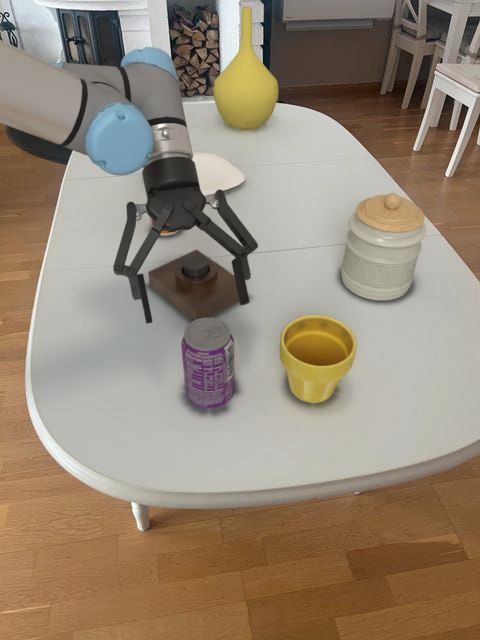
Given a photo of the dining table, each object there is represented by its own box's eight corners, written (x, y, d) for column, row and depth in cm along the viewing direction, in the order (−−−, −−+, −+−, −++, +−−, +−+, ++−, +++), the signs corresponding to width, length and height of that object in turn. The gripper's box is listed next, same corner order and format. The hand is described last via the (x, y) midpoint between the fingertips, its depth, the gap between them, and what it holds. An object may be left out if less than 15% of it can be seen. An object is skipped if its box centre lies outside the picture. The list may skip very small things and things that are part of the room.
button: (178, 270, 91) (177, 260, 89) (198, 261, 93) (197, 251, 92) (193, 282, 88) (192, 272, 87) (213, 272, 91) (213, 262, 89)
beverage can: (223, 369, 80) (222, 309, 72) (242, 402, 75) (242, 343, 67) (179, 382, 78) (173, 322, 70) (195, 417, 73) (190, 358, 65)
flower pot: (342, 421, 72) (352, 374, 66) (269, 405, 74) (272, 358, 68) (350, 368, 80) (360, 321, 73) (284, 355, 82) (289, 308, 75)
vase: (232, 141, 143) (232, 19, 123) (203, 119, 155) (199, 4, 135) (288, 129, 150) (296, 11, 130) (256, 108, 162) (259, -2, 142)
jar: (389, 312, 90) (412, 223, 78) (326, 282, 96) (338, 196, 84) (423, 278, 97) (448, 192, 85) (362, 252, 103) (378, 168, 92)
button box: (149, 286, 95) (146, 263, 92) (197, 262, 100) (196, 241, 97) (196, 324, 87) (195, 301, 84) (245, 297, 93) (246, 275, 89)
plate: (255, 186, 124) (255, 180, 123) (173, 211, 115) (172, 204, 114) (210, 153, 137) (210, 147, 136) (134, 173, 129) (133, 166, 128)
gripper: (73, 165, 66) (105, 328, 66) (259, 143, 72) (290, 293, 71) (79, 185, 74) (108, 332, 73) (246, 163, 79) (275, 299, 78)
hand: (198, 313), depth 72 cm, fingers open, 13 cm apart
